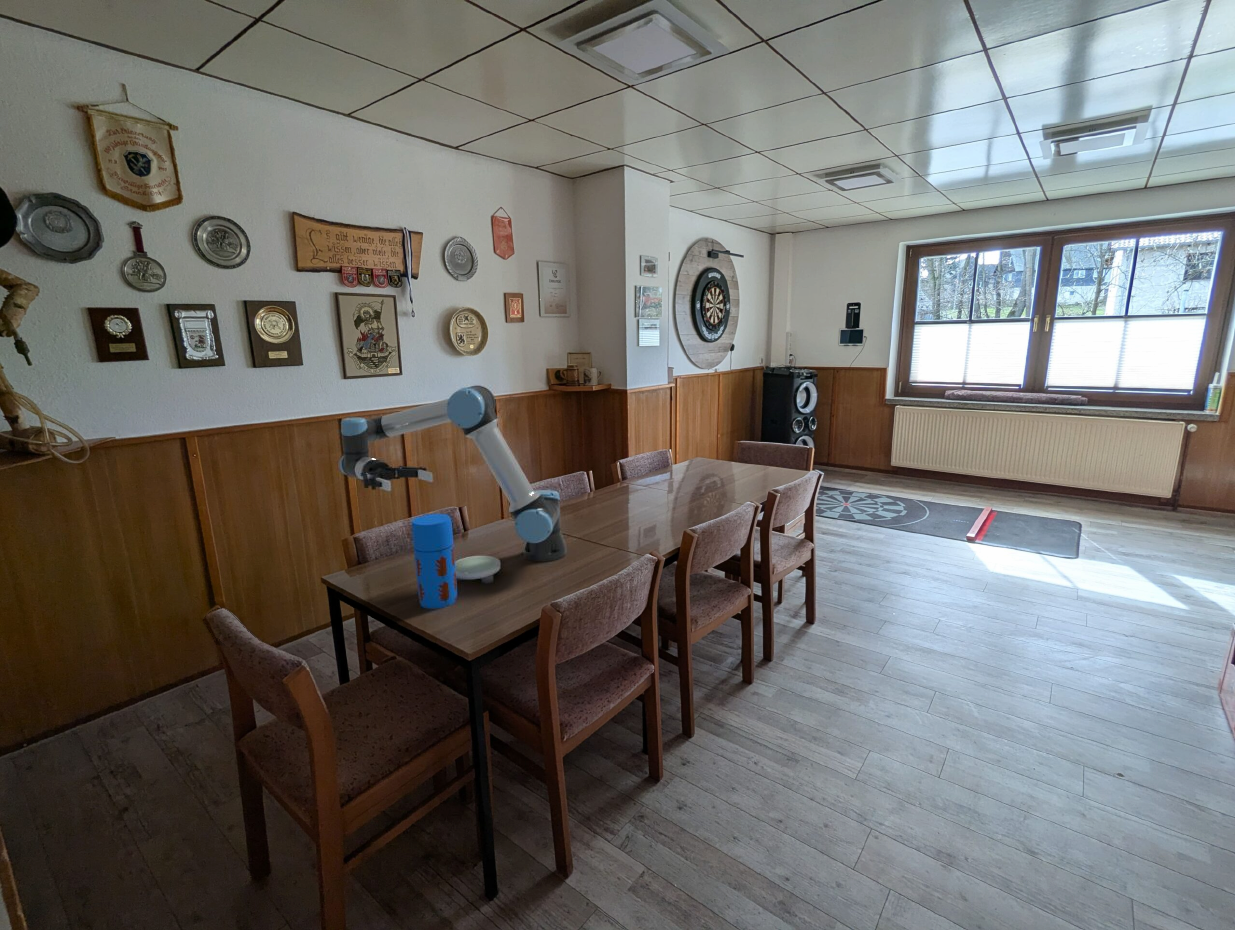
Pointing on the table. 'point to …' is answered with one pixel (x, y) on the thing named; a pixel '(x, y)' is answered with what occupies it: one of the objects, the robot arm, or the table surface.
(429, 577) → the thermos
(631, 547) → the table surface
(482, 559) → the levelling base
